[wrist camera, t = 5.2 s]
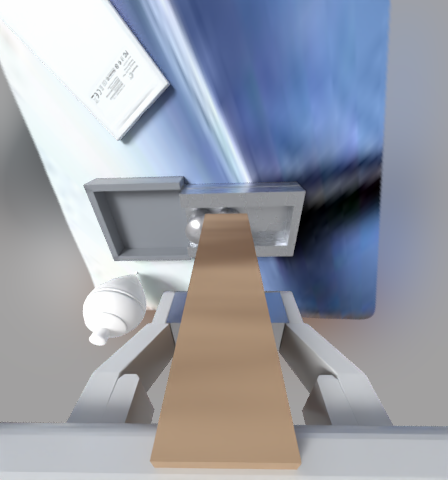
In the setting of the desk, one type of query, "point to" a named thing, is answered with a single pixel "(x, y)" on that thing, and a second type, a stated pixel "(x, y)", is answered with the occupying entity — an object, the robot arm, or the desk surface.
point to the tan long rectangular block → (225, 365)
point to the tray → (141, 217)
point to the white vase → (114, 308)
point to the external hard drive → (90, 56)
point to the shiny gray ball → (195, 225)
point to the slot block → (252, 211)
